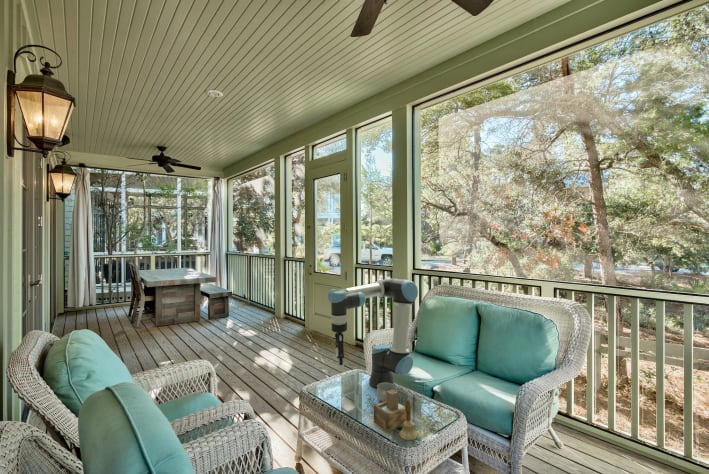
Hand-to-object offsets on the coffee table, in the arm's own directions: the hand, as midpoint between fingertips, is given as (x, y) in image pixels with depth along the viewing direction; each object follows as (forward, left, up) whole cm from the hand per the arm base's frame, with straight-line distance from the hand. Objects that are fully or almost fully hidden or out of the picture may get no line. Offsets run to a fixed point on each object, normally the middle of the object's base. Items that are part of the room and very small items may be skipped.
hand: (339, 365), depth 169 cm
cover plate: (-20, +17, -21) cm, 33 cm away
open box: (-20, +17, -27) cm, 37 cm away
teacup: (-30, 0, -27) cm, 40 cm away
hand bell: (-19, +29, -27) cm, 44 cm away
